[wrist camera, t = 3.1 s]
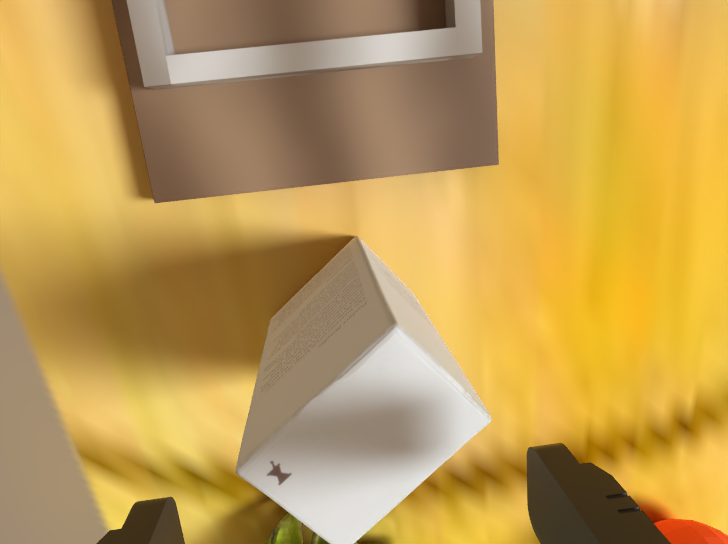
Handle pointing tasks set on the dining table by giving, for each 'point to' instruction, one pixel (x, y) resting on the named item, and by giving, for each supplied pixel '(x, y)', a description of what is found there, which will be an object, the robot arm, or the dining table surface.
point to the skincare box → (353, 399)
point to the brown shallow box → (307, 90)
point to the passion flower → (291, 532)
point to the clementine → (690, 532)
